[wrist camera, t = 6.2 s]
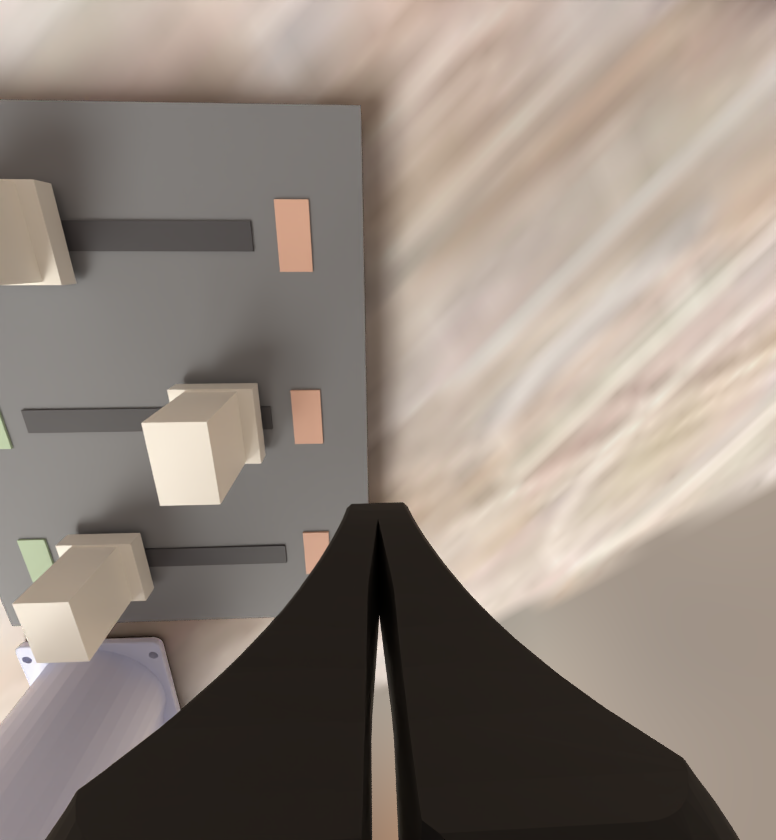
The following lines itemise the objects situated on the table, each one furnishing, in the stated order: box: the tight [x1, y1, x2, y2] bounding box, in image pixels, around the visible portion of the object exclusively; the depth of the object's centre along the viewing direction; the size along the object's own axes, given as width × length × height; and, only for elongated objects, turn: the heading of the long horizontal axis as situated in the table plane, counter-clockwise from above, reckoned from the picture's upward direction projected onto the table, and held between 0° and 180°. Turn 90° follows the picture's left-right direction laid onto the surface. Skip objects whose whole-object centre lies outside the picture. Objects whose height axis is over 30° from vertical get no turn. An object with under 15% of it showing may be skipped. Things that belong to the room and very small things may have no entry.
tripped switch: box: [141, 383, 266, 506], centre depth 15 cm, size 3×3×4 cm
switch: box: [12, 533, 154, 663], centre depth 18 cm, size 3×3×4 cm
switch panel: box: [0, 100, 369, 626], centre depth 18 cm, size 22×18×2 cm
